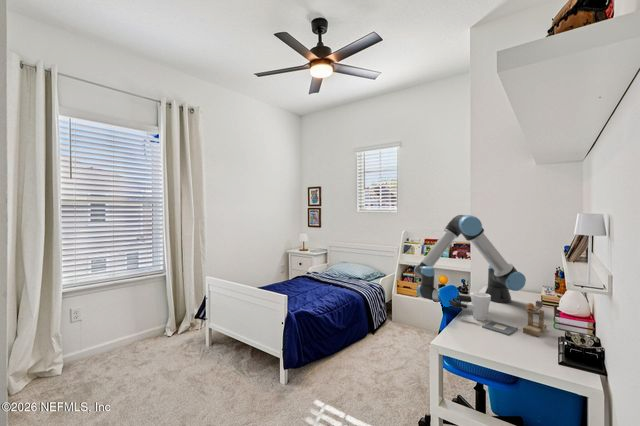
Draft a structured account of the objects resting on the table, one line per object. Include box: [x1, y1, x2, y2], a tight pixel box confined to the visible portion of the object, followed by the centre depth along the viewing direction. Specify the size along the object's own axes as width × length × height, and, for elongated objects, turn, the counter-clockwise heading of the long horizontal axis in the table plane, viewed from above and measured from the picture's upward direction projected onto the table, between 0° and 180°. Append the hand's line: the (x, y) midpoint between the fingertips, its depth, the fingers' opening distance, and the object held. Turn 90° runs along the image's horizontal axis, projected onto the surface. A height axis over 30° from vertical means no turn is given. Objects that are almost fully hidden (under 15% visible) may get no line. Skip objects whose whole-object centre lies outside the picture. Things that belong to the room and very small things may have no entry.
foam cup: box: [470, 291, 491, 321], centre depth 166 cm, size 10×9×13 cm
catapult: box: [522, 300, 548, 338], centre depth 149 cm, size 17×6×15 cm, turn 130°
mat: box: [482, 320, 519, 336], centre depth 153 cm, size 12×12×1 cm
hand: (479, 305), depth 165 cm, fingers open, 13 cm apart
